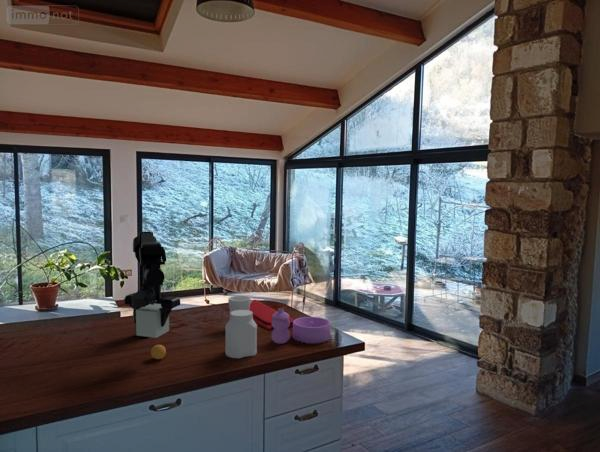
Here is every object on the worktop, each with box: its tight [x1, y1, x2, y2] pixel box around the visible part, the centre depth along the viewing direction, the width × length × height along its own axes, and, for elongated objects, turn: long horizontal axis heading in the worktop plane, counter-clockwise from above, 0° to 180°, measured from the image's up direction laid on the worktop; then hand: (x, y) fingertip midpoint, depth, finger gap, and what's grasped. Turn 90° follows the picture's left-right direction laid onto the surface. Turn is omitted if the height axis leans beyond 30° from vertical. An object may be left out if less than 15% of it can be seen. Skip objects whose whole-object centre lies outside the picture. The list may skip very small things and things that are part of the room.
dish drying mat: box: [249, 299, 295, 332], centre depth 214 cm, size 16×41×4 cm, turn 33°
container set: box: [270, 308, 331, 345], centre depth 183 cm, size 25×15×13 cm, turn 115°
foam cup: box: [227, 295, 252, 313], centre depth 195 cm, size 10×9×13 cm
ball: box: [150, 344, 167, 360], centre depth 159 cm, size 5×5×5 cm
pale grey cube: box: [135, 304, 170, 339], centre depth 156 cm, size 8×8×9 cm
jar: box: [224, 310, 258, 359], centre depth 166 cm, size 12×10×15 cm
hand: (152, 325), depth 155 cm, fingers closed on pale grey cube, 8 cm apart
